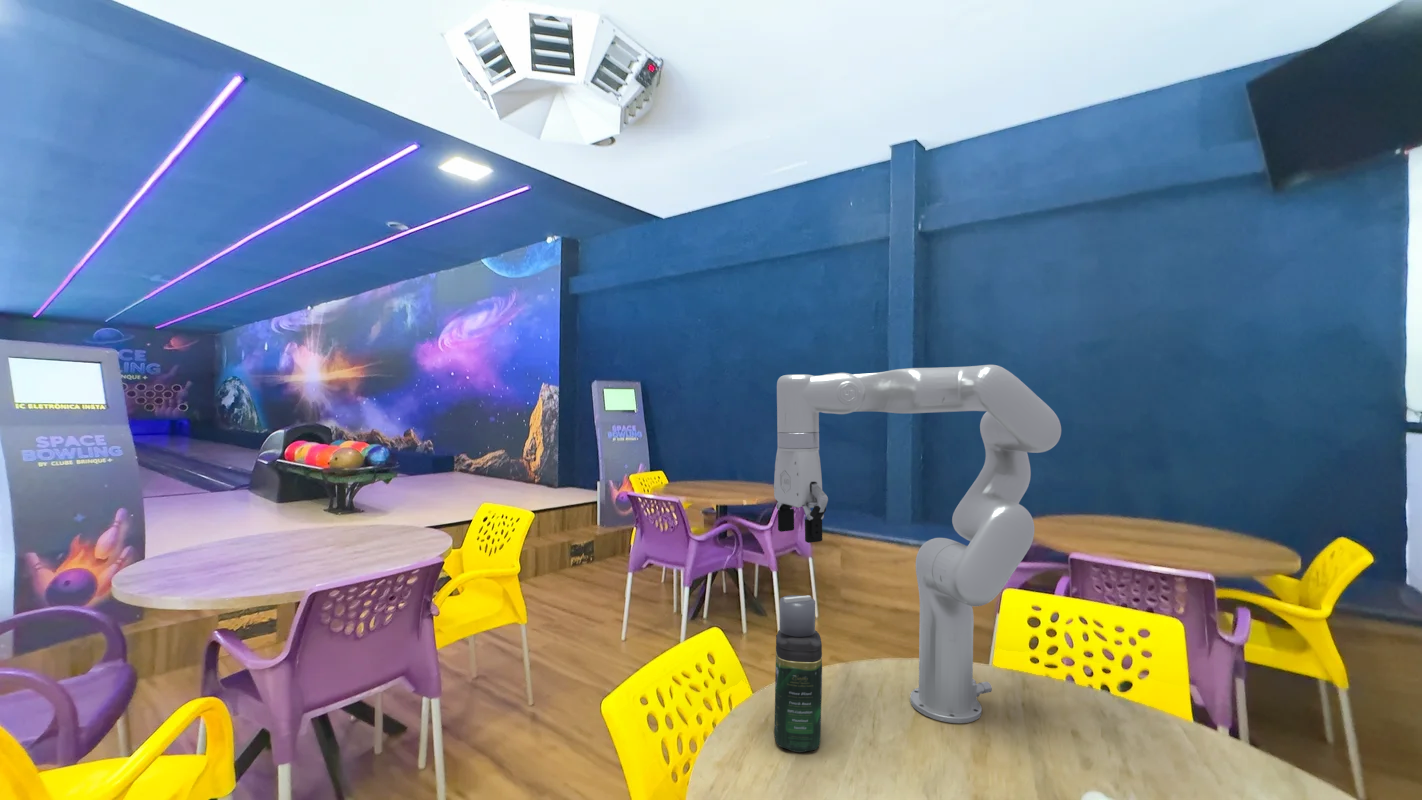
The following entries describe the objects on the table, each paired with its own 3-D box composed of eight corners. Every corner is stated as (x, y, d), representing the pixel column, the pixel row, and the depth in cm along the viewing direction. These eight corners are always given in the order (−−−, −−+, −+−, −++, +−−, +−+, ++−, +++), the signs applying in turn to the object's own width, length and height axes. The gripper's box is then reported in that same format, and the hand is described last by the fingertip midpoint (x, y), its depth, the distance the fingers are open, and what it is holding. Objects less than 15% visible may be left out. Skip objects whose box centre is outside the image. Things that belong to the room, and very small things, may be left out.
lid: (788, 638, 100) (789, 604, 100) (773, 625, 106) (774, 593, 106) (821, 634, 102) (821, 601, 102) (804, 622, 107) (805, 590, 107)
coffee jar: (823, 756, 98) (824, 641, 99) (774, 752, 99) (775, 639, 99) (819, 725, 108) (820, 620, 108) (774, 721, 109) (775, 618, 109)
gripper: (758, 440, 117) (759, 528, 117) (805, 446, 101) (806, 548, 101) (792, 438, 120) (793, 525, 120) (843, 444, 104) (844, 544, 104)
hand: (799, 536), depth 111 cm, fingers open, 9 cm apart
